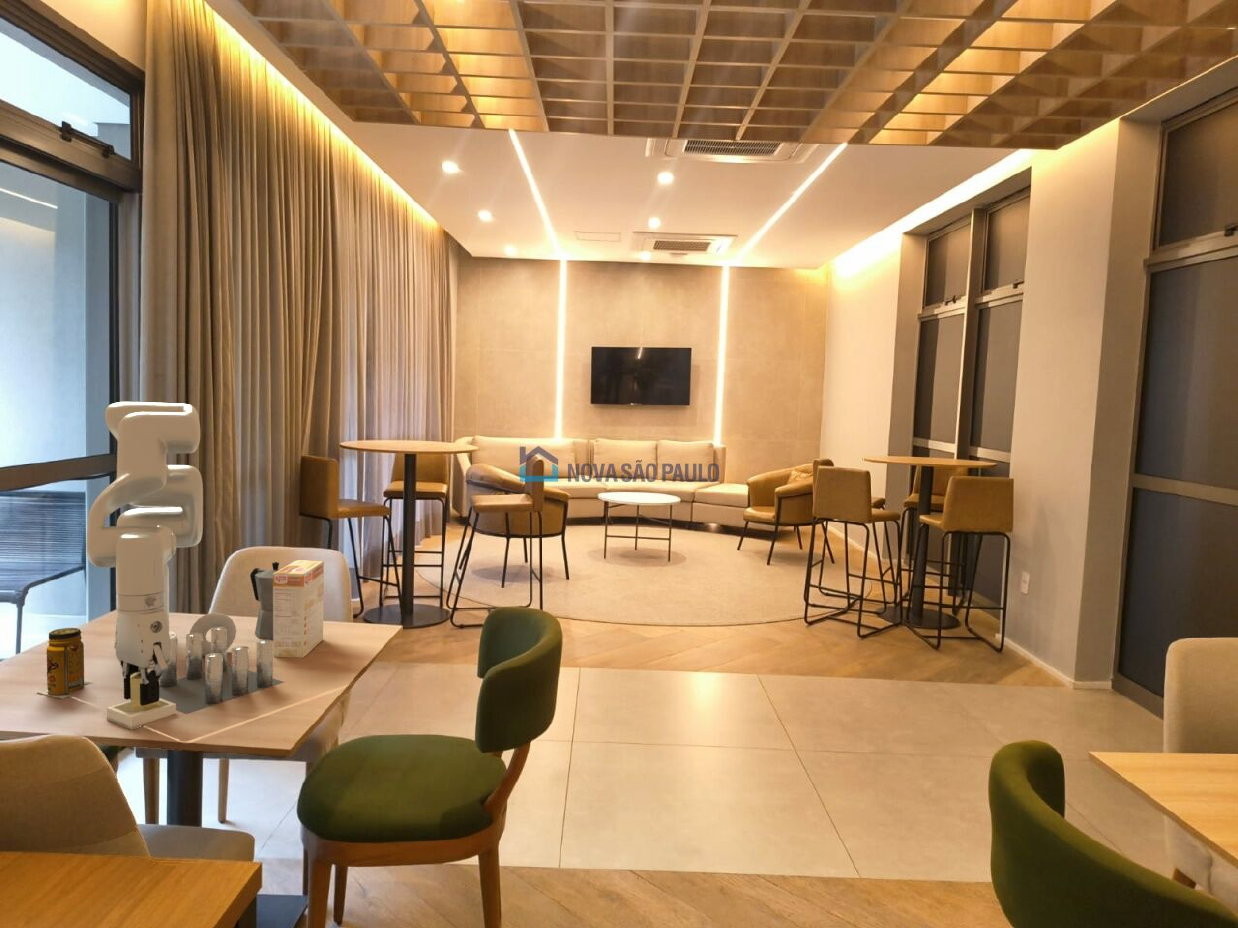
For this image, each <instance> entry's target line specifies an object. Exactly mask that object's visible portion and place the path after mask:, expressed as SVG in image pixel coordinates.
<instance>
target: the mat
mask: <svg viewBox="0 0 1238 928" xmlns="http://www.w3.org/2000/svg"><path fill="white" fill-rule="evenodd" d="M283 683H284V681H282V680H279V679H276V678H273V685H272V686H270V687H266V688H259V687H257V672H254V671H251V670H249V676H248V694H245V695H250V694H253V693H255V692H258V691H262V690H265V689H267V688H271V687H273V686H277V685H280V684H283ZM245 695H241V696H234V695H232V664H227V670H226V671H225V672H223V701H222V702H221V703H218V704H222V703H224V702H228V701H231V700H234V699H237V698H241V697H243V696H245ZM159 698H161V699H164V700H167V701H169V702H172V703H175V704H176V712H180V713H182V714H186V715H187V714H191V713H193V712H196V711H200V710H203V709H206V708H209V707H212V706H216V704H206V703H205V671H203V677H202V678H200V679H197V680H187V679H186V676H185V677H181V678H179V679H178V678H177V685H175V686H173V687H168V688H162V687H160V684H159ZM218 704H217V705H218Z"/></svg>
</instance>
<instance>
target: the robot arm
mask: <svg viewBox="0 0 1238 928" xmlns="http://www.w3.org/2000/svg"><path fill="white" fill-rule="evenodd" d="M104 416H105V423H106V426H107V428H108V429H109V432H110V433H111V435H112V436H113V438H115V439H116V441H117V453H116V454H117V457H116V459H117V460H116V461H117V462H116V479H115V480H114V481H113V482H112V483H110V484H109V485H107V487H106V488H104V489H103V490H102V491H101V492H100V494H99V495H98V496H97V497H96V499H95V500H94V502H93V503H92V505H91V507H90V508H89V513H88V516H87V528H86V529H87V530H86V556H87V558H88V561H89V562H90V564H92V565H93V566H94V567H97V568H104V569H105V568H115V591H116V594H115V595H116V597H115V598H116V599H115V600H116V601H115V605H116V606H115V607H116V610H115V611H116V621H115V624H116V625H115V639H114V646H115V654H116V655H115V656H116V658H117V659H118V661H119V664H120V666H121V668H122V671H121V676H122V677H123V698H124V700H126V701H127V700H131V687H130V675H131V674H133V673H137V672H140V671H141V676H142V682H143V683H141V684H140V705H142V706H145V705H148V704H151V703H155V702H158V701H159V685H160V680H161V675H162V674H163V673H164V672H165V671H166V670H167V665H166V662H169V660H170V639H176V640H178V639H177V638H178V636H177V635H178V634H177V633H176V632H174V631H172V630H170V570H169V564H168V562H169V561H170V560H171V559H172V557H173V556H174V555H175V554H176V550H177V548H181V549H182V548H189V547H190V548H191V547H195V546H197V545H198V544H200V542H201V540H202V538H203V530H204V528H203V527H204V509H203V508H204V488H203V485H204V483H203V478H202V474H201V472H200V470H199V469H198V468H197V467H195V466H193V465H189V464H187V465H186V464H167V454H193V453H195V452H196V451H197V450H198V448H199V445H200V441H201V424H200V415H199V413H198V410H197V409H196V407H195V406H194V405H192V404H187V403H173V402H172V403H170V402H169V403H168V402H150V401H149V402H144V401H142V402H140V401H119V402H114V403H111V404H109V405H108V406H107V407H106V409H105V413H104ZM126 505H131V506H133V507H138V508H134V509H129V510H126V511H124V512H122V513H121V514H120V515H119V516H118V518H117V521H116V525H115V526H106V521H107V519H108V517H110V516H111V514H113V512H115V511H117V510H119V509H120V508H122V507H124V506H126ZM139 507H140V508H139ZM150 662H152V663H150ZM149 669H150V670H151V669H152V670H151V671H150V672H149V674H148V671H147V670H149Z"/></svg>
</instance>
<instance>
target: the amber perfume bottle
mask: <svg viewBox="0 0 1238 928" xmlns="http://www.w3.org/2000/svg"><path fill="white" fill-rule="evenodd" d="M147 671H148V674H149V672H150V671H151V669H150V670H149V669H147ZM141 683H143V682H142V676H141V671H140V672H137V673H133V674H131V675H130V687H131V699H130V701H131V711H148V710H151V709H154V708H157V707H159V701H158V702H155V703H151V704H148V705H145V706H142V705H140V684H141Z"/></svg>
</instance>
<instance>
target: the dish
mask: <svg viewBox="0 0 1238 928" xmlns="http://www.w3.org/2000/svg"><path fill="white" fill-rule="evenodd" d="M176 714H177V710H176V704H175V703H172V702H169V701H167V700H164V699H161V698H159V707H157V708H154V709H151V710H148V711H131V700H129V701H125V702H121V703H118V704H114V705H111V706H107V707H106V720H108V721H109V722H111V723H114V724H116V725H119V726H121V725H122V727H123V726H124V728H126V729H128V728H129V729H128V730H132V731H133V730H136V729H139V728H141V727H140V726H143V727H145V726H144V725H146V724H149V723H151V722H155V721H158V720H160V719H164V718H167V717H170V716H174V715H176ZM138 727H139V728H138ZM135 728H136V729H135Z"/></svg>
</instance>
